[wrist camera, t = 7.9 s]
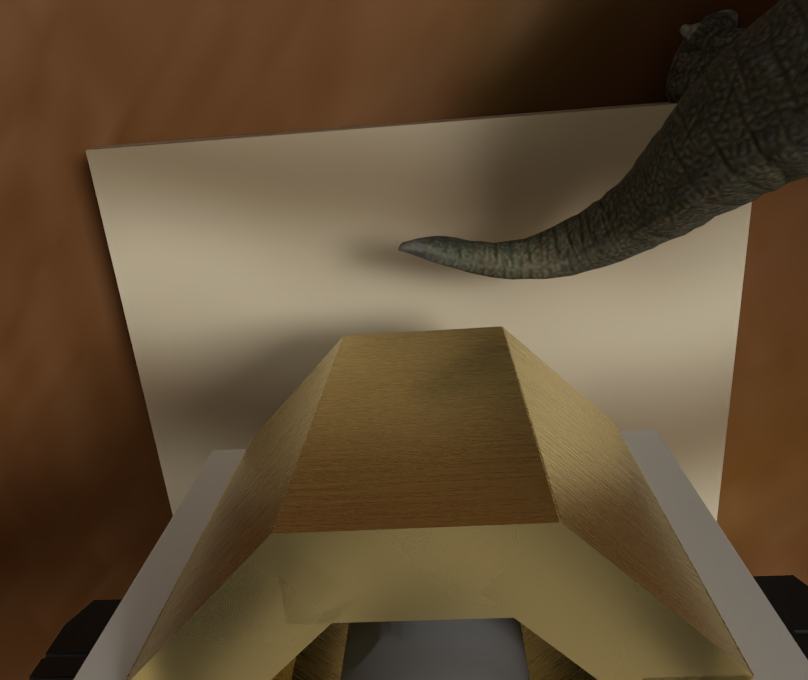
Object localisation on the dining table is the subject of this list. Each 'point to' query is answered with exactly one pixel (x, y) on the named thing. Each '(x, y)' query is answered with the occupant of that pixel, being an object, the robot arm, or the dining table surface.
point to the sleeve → (438, 526)
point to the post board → (409, 296)
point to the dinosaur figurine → (679, 153)
